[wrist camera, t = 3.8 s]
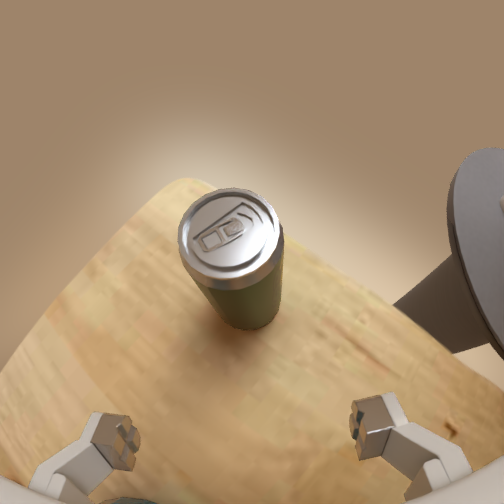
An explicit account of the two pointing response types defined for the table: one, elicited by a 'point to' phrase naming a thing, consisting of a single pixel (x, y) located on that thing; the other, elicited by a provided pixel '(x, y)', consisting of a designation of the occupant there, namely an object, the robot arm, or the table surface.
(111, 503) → the teal bowl
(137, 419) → the table surface
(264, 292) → the green soda can
